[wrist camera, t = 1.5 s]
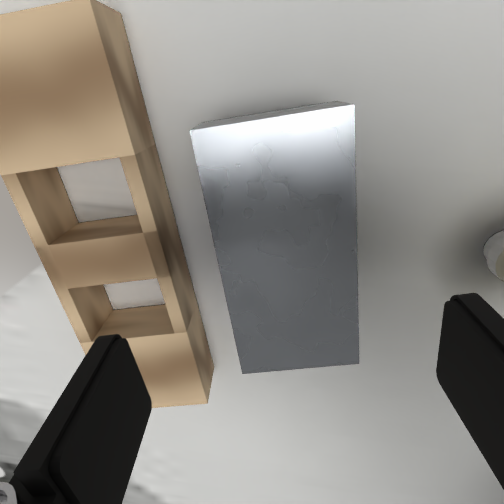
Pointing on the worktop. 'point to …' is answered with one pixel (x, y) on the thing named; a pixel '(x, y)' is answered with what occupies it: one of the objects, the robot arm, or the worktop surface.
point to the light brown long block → (87, 150)
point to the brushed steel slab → (285, 232)
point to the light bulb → (495, 254)
